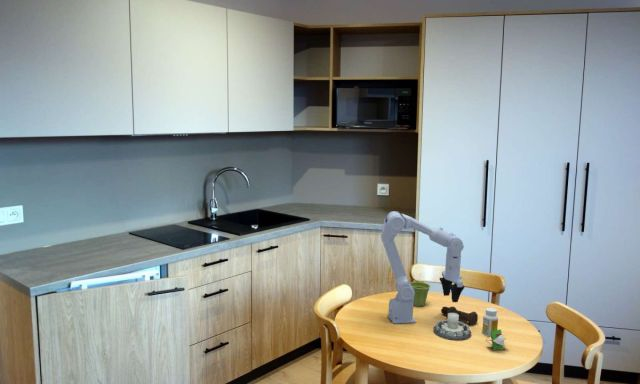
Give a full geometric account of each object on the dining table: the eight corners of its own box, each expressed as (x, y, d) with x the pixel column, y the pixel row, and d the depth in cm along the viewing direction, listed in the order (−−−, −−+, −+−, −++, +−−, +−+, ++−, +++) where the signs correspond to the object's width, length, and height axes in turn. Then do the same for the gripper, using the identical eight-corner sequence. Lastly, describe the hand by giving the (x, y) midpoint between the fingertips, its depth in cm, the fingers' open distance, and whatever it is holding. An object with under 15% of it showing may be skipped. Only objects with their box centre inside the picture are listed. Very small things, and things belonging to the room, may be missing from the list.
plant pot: (431, 302, 235) (432, 283, 234) (426, 309, 226) (427, 289, 225) (410, 299, 239) (411, 280, 237) (405, 305, 230) (406, 286, 229)
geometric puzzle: (480, 337, 194) (489, 325, 188) (495, 335, 196) (505, 324, 191) (488, 355, 189) (498, 344, 184) (504, 353, 191) (515, 342, 186)
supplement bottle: (496, 332, 204) (498, 308, 203) (496, 337, 199) (498, 312, 198) (482, 330, 206) (484, 306, 205) (481, 335, 201) (483, 310, 200)
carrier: (442, 341, 194) (443, 335, 194) (427, 326, 208) (428, 320, 208) (477, 339, 197) (478, 332, 197) (460, 324, 211) (460, 318, 211)
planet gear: (446, 335, 198) (447, 319, 197) (437, 326, 206) (438, 311, 205) (467, 333, 199) (468, 318, 198) (457, 325, 207) (458, 310, 207)
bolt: (443, 317, 223) (475, 328, 212) (437, 314, 219) (469, 324, 208) (447, 304, 224) (479, 314, 213) (442, 301, 221) (473, 310, 210)
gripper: (470, 271, 205) (468, 304, 207) (453, 260, 219) (451, 292, 221) (453, 271, 203) (451, 305, 205) (438, 261, 217) (436, 292, 219)
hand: (450, 298), depth 213 cm, fingers open, 7 cm apart
